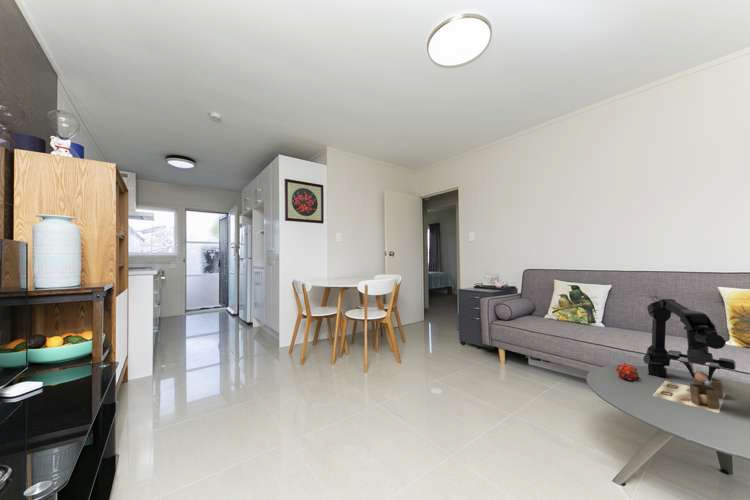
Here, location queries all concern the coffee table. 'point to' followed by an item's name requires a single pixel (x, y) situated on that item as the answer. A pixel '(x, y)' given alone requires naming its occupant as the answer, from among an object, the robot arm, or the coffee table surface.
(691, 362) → the robot arm
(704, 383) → the slate-blue ball
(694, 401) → the cream wooden tray
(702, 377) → the terracotta ball
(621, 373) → the dragon fruit
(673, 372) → the coffee table surface
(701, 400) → the terracotta ball in tube
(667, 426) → the coffee table surface
